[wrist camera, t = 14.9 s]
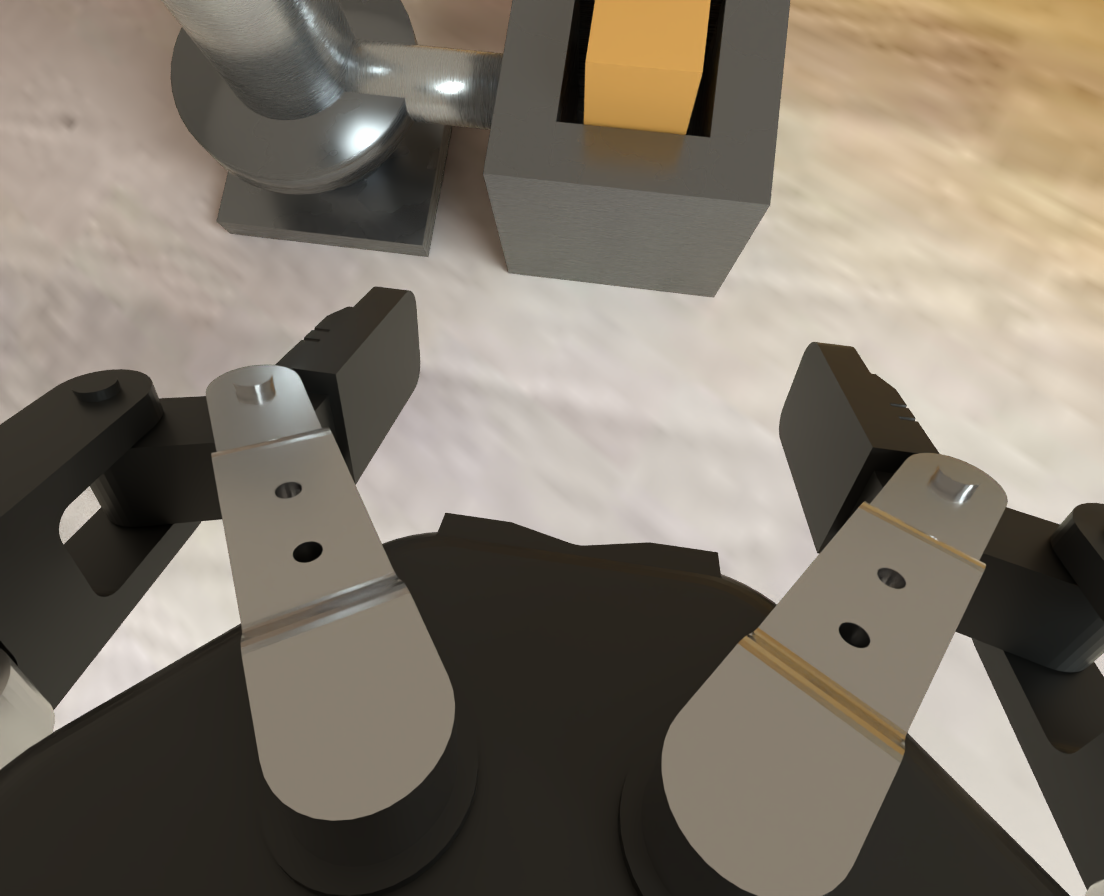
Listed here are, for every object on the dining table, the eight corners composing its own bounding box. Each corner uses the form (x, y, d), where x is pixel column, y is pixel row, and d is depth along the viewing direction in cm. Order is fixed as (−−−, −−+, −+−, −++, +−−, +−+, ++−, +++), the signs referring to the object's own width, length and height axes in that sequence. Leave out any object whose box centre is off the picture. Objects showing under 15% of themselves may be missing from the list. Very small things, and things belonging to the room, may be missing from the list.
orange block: (669, 148, 24) (716, -48, 16) (658, 234, 23) (702, 72, 16) (593, 140, 24) (604, -57, 16) (581, 226, 24) (585, 61, 16)
